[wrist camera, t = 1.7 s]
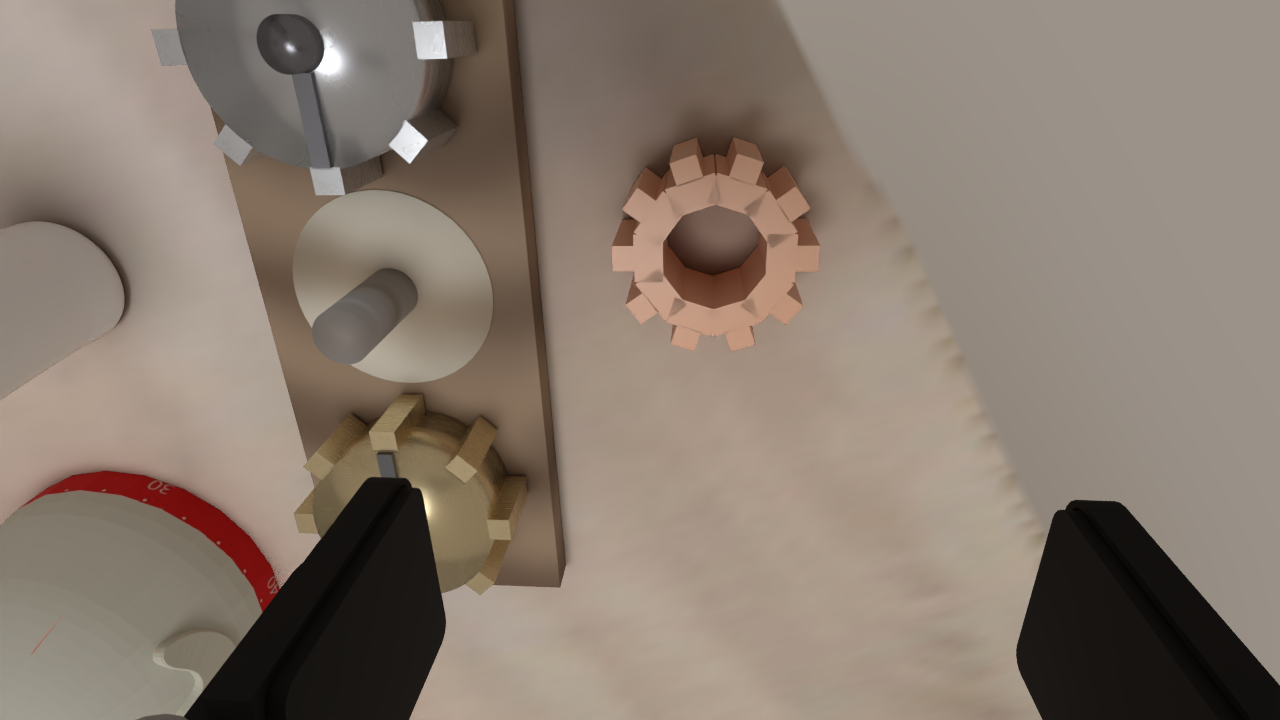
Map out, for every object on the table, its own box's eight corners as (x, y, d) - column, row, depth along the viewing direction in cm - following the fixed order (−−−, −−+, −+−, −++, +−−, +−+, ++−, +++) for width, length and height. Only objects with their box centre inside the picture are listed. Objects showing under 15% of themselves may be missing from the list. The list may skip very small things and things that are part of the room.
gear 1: (176, -112, 22) (81, -136, 19) (455, -126, 21) (408, -153, 18) (252, 178, 26) (184, 201, 23) (490, 175, 25) (457, 199, 22)
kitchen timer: (66, 652, 41) (-242, 958, 28) (-9, 456, 35) (-448, 725, 22) (298, 682, 41) (98, 1009, 27) (263, 489, 35) (-16, 785, 21)
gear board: (168, -157, 23) (6, -210, 18) (497, -174, 22) (431, -236, 17) (353, 557, 36) (291, 652, 31) (565, 565, 35) (540, 664, 30)
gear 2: (308, 392, 30) (257, 440, 27) (516, 396, 29) (491, 446, 26) (351, 558, 34) (311, 618, 30) (535, 565, 33) (516, 628, 30)
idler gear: (597, 172, 27) (582, 193, 23) (778, 109, 25) (788, 122, 22) (657, 334, 29) (651, 373, 26) (823, 286, 28) (839, 321, 25)
